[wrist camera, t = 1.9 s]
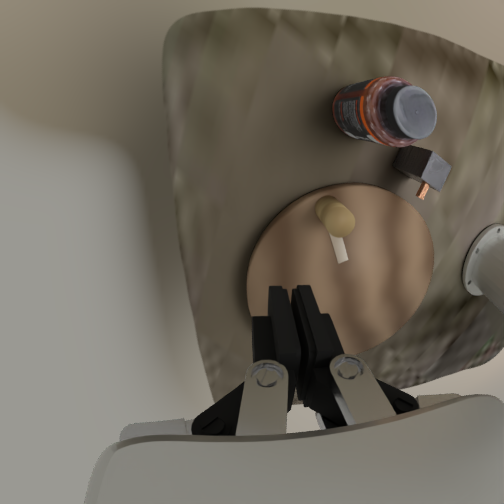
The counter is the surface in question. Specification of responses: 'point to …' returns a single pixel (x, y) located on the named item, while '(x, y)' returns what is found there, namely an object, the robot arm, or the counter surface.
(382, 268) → the turntable
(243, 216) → the counter surface
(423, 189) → the small hammer
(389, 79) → the supplement bottle
